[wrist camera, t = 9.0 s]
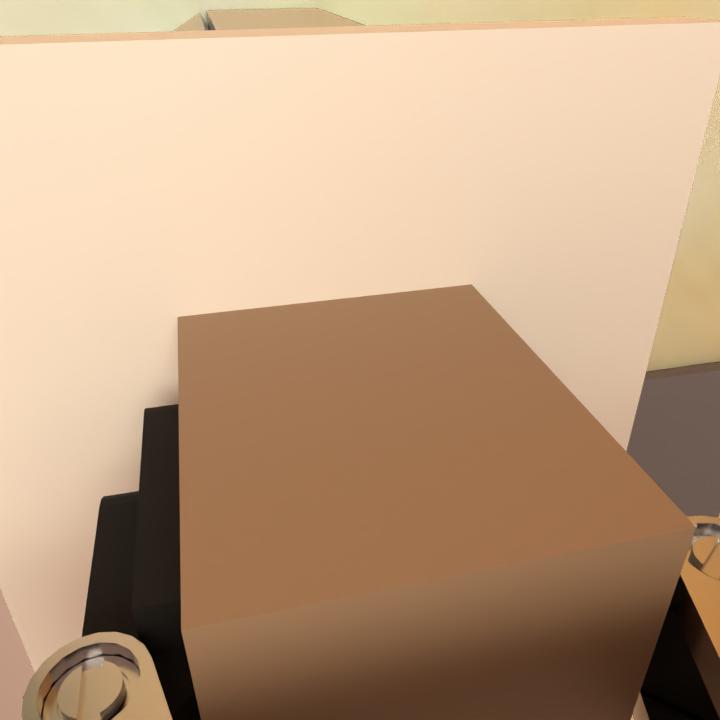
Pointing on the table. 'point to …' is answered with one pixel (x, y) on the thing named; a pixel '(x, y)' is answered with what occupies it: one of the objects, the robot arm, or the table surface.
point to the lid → (354, 349)
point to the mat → (681, 435)
